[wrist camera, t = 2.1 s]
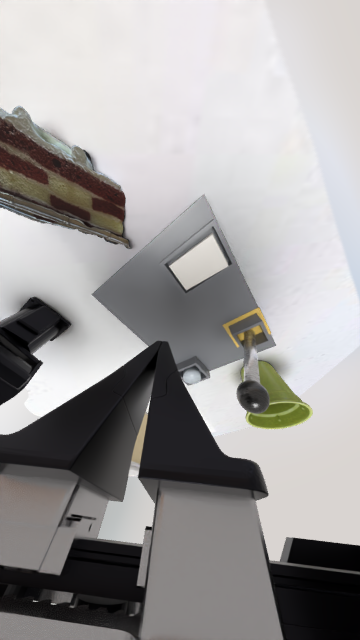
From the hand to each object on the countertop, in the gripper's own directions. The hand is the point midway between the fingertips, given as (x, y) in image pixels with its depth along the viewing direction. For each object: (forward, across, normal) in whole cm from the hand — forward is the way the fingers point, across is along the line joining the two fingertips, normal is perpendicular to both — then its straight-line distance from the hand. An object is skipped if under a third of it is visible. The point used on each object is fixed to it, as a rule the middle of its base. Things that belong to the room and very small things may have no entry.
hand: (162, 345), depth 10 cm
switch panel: (+12, +2, -4) cm, 13 cm away
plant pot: (+12, +17, -17) cm, 27 cm away
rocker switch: (+8, +2, +4) cm, 9 cm away
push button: (+9, +3, -14) cm, 17 cm away
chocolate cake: (+12, -10, +10) cm, 19 cm away
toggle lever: (+8, +10, -5) cm, 14 cm away
